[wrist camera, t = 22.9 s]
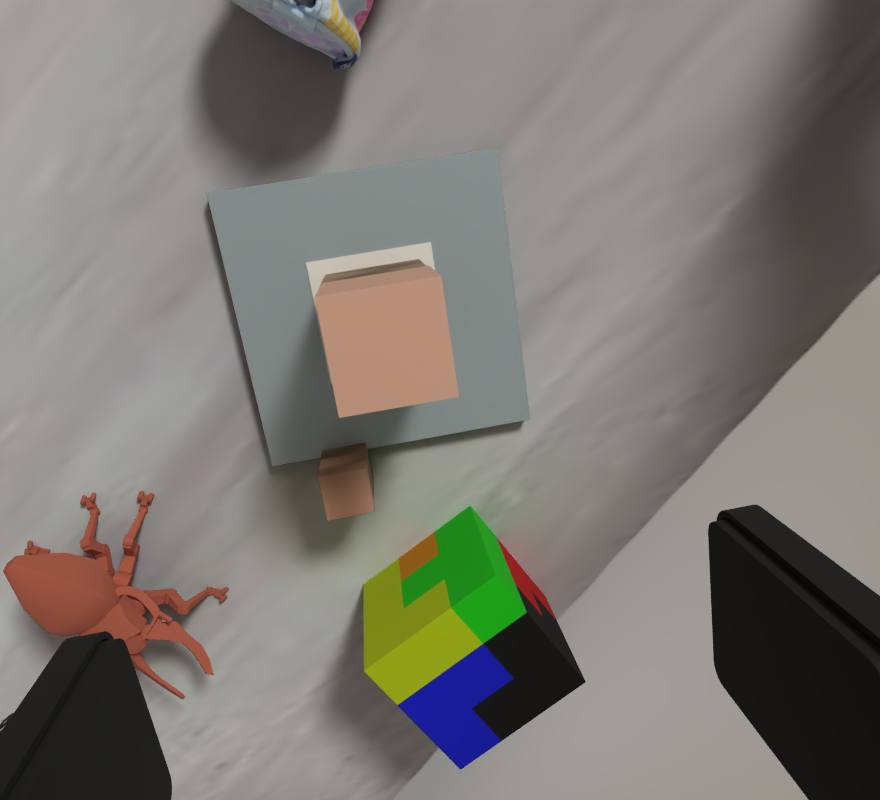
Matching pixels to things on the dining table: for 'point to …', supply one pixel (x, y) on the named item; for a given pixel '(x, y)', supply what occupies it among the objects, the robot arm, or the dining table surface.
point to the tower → (346, 481)
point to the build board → (361, 246)
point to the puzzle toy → (464, 640)
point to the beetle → (102, 595)
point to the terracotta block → (387, 340)
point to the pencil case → (317, 24)
